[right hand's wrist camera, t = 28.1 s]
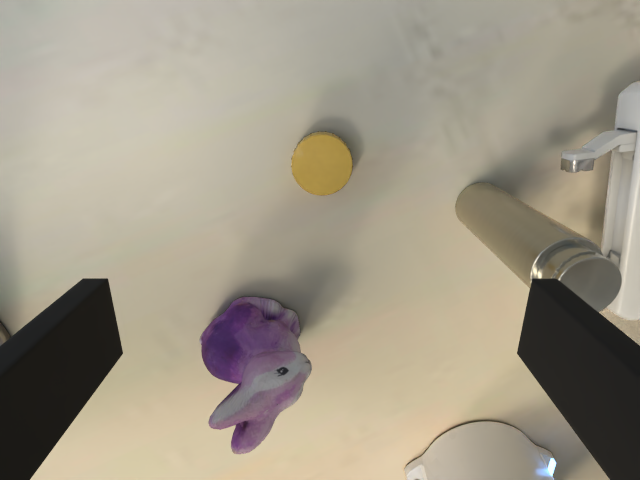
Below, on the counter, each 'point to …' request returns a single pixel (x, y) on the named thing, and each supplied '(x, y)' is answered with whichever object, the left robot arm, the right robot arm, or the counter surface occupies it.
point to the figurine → (254, 367)
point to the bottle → (538, 244)
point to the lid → (321, 163)
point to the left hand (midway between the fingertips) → (560, 217)
